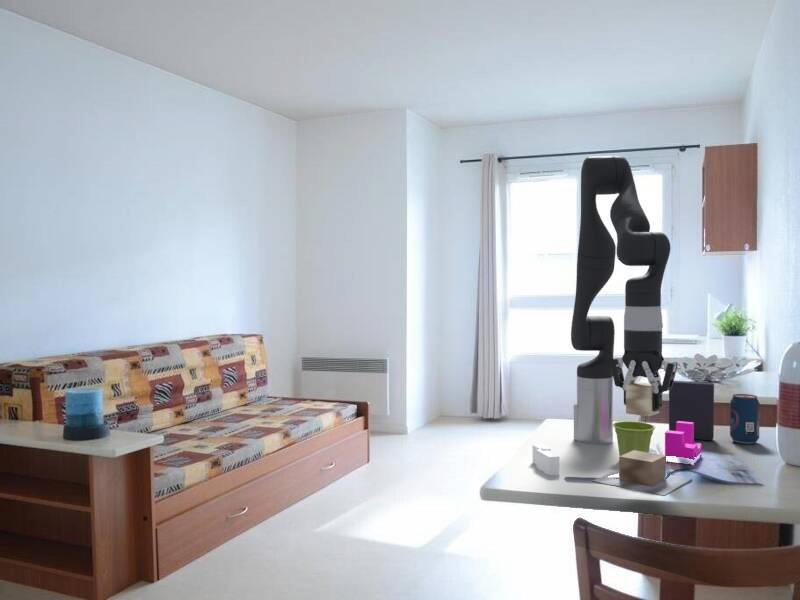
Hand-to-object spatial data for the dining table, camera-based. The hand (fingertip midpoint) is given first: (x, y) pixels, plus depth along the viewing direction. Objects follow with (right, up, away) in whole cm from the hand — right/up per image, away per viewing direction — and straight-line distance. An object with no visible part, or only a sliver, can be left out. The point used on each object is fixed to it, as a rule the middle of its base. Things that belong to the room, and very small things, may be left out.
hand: (642, 409), depth 146 cm
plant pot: (+4, -15, +18) cm, 24 cm away
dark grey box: (+28, -15, +43) cm, 53 cm away
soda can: (+40, -15, +38) cm, 57 cm away
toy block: (+18, -16, +22) cm, 32 cm away
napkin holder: (-18, -16, +11) cm, 27 cm away
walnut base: (0, -16, +1) cm, 16 cm away
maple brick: (0, -1, 0) cm, 1 cm away
